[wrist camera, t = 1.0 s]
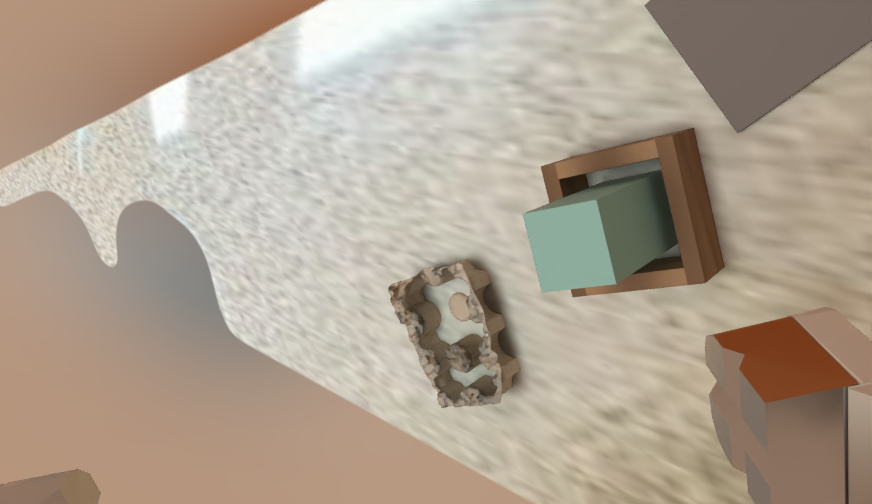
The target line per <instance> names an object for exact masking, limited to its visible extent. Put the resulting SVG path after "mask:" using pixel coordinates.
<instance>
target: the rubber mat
mask: <svg viewBox="0 0 872 504" xmlns="http://www.w3.org/2000/svg"><path fill="white" fill-rule="evenodd" d="M645 7H646V8H647V10H648V11H649V12H650V14H651V15H652V16H653V18H654V19H655V21H656V22H657V23H658V25H659V26H660V27H661V29H662V30H663V32H664V33H665V34H666V36H667V37H668V38H669V40H670V41H671V42H672V44H673V45H674V47H675V48H676V49H677V51H678V52H679V53H680V55H681V56H682V58H683V59H684V60H685V62H686V63H687V64H688V66H689V67H690V69H691V70H692V71H693V73H694V74H695V75H696V77H697V78H698V80H699V81H700V82H701V84H702V85H703V86H704V88H705V89H706V91H707V92H708V93H709V95H710V96H711V97H712V99H713V100H714V102H715V103H716V104H717V106H718V107H719V108H720V110H721V111H722V113H723V114H724V115H725V117H726V118H727V119H728V121H729V122H730V124H731V125H732V126H733V128H734V129H735V130H736V132H737V133H739V132H741V131H742V130H744V129H745V128H747V127H748V126H749V125H751V124H752V123H754V122H755V121H757V120H758V119H760V118H761V117H762V116H764V115H765V114H767V113H768V112H770V111H771V110H772V109H774V108H775V107H777V106H778V105H780V104H781V103H782V102H784V101H785V100H787V99H788V98H790V97H791V96H793V95H794V94H795V93H797V92H798V91H800V90H801V89H803V88H804V87H805V86H807V85H808V84H810V83H811V82H813V81H814V80H816V79H817V78H818V77H820V76H821V75H823V74H824V73H826V72H827V71H828V70H830V69H831V68H833V67H834V66H836V65H837V64H839V63H840V62H841V61H843V60H844V59H846V58H847V57H849V56H850V55H851V54H853V53H854V52H856V51H857V50H859V49H860V48H862V47H863V46H864V45H866V44H867V43H869V42H870V41H872V0H650V1H649V2H648V3H647V4H646V5H645Z"/></svg>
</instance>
